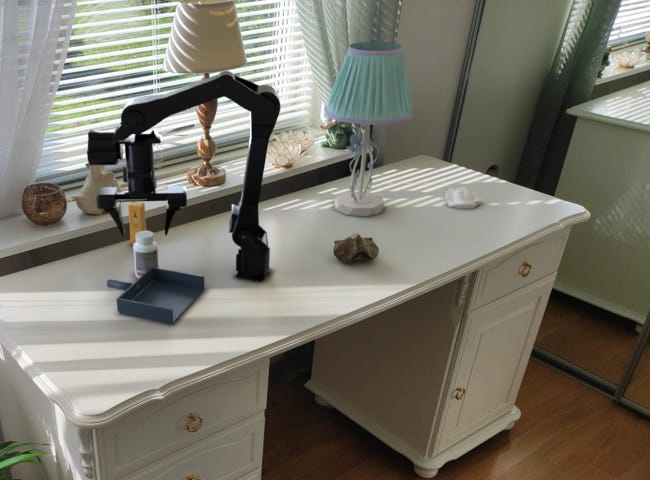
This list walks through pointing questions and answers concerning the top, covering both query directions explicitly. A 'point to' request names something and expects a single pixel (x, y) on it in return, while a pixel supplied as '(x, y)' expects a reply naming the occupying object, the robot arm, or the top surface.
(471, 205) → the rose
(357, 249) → the fossilized seashell
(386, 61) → the table lamp
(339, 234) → the top surface
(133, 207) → the supplement box
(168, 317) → the dustpan
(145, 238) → the pill bottle
